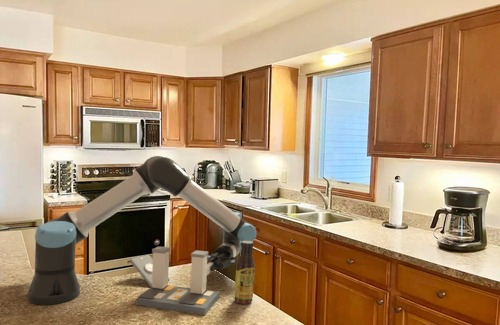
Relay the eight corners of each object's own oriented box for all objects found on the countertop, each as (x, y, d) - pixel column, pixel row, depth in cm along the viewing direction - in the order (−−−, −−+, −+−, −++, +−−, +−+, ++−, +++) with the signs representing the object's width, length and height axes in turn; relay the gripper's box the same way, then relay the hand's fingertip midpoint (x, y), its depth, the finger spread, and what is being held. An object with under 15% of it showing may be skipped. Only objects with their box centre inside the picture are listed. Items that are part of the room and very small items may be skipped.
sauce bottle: (238, 306, 119) (241, 244, 119) (230, 299, 125) (233, 240, 124) (256, 303, 122) (259, 243, 122) (248, 296, 128) (250, 239, 127)
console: (136, 304, 117) (136, 297, 117) (157, 289, 131) (157, 282, 131) (205, 314, 112) (205, 306, 112) (219, 297, 126) (219, 290, 126)
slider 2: (189, 292, 122) (191, 253, 122) (194, 288, 127) (196, 250, 126) (202, 294, 121) (203, 255, 121) (206, 289, 126) (208, 251, 125)
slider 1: (150, 287, 126) (152, 249, 125) (157, 283, 130) (158, 246, 130) (162, 289, 125) (164, 250, 124) (168, 284, 129) (170, 247, 129)
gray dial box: (152, 283, 132) (131, 256, 139) (147, 295, 134) (126, 268, 141) (170, 277, 139) (149, 252, 146) (165, 289, 141) (144, 264, 148)
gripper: (239, 265, 150) (222, 284, 127) (209, 261, 153) (186, 280, 130) (240, 246, 150) (223, 262, 127) (209, 243, 153) (187, 258, 130)
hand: (205, 271), depth 128 cm, fingers closed
